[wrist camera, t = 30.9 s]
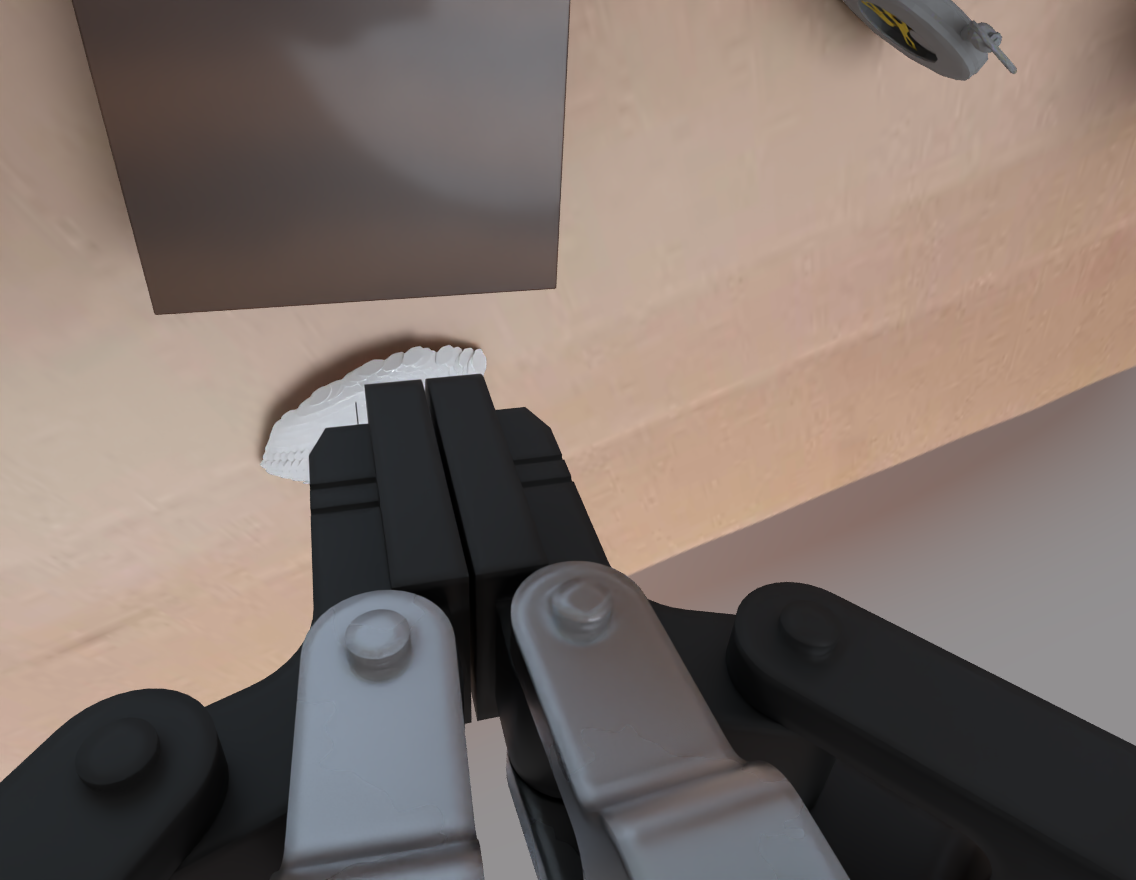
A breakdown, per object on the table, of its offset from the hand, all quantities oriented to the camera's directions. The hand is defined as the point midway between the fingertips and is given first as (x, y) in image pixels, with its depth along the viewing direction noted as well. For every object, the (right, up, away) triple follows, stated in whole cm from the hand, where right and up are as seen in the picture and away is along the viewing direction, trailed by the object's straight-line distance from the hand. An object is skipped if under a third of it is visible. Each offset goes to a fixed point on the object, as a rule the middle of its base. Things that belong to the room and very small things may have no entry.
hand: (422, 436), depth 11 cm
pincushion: (-8, +2, +29) cm, 30 cm away
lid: (-5, +13, +14) cm, 20 cm away
